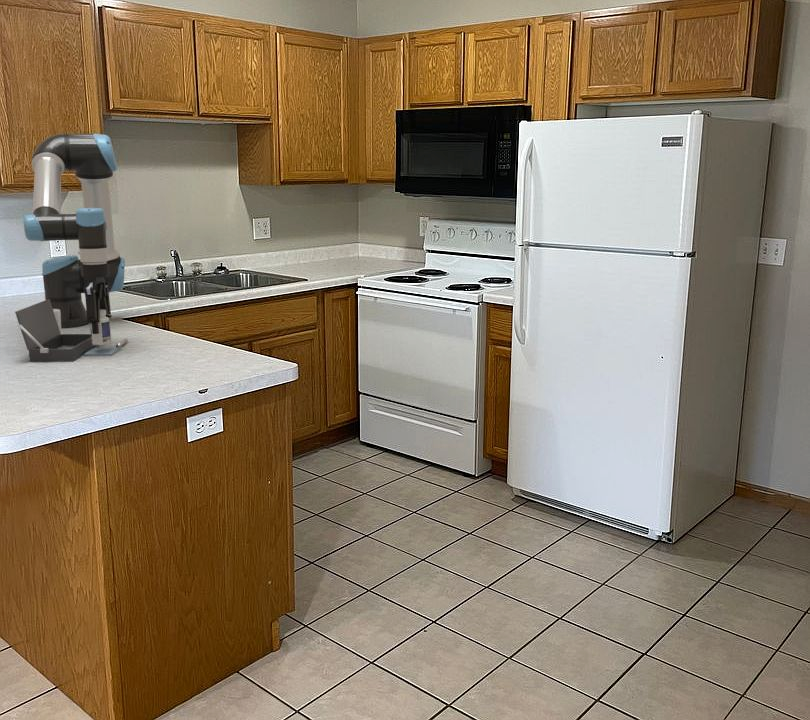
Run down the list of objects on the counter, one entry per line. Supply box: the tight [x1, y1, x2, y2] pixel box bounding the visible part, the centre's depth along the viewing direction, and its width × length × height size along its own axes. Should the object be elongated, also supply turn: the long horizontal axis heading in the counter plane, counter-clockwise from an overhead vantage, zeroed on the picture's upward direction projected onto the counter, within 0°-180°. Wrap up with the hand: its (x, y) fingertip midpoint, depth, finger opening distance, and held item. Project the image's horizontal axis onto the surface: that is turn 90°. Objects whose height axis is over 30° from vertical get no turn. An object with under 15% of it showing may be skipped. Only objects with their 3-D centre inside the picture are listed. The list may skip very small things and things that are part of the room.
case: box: [14, 299, 101, 363], centre depth 237 cm, size 22×15×14 cm, turn 1°
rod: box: [115, 338, 129, 348], centre depth 249 cm, size 8×1×1 cm, turn 1°
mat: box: [83, 347, 122, 357], centre depth 239 cm, size 8×8×1 cm
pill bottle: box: [89, 309, 112, 346], centre depth 237 cm, size 5×5×10 cm
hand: (101, 342), depth 238 cm, fingers closed on pill bottle, 5 cm apart
